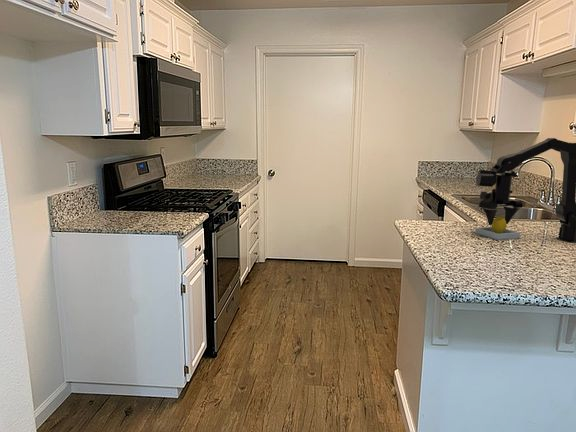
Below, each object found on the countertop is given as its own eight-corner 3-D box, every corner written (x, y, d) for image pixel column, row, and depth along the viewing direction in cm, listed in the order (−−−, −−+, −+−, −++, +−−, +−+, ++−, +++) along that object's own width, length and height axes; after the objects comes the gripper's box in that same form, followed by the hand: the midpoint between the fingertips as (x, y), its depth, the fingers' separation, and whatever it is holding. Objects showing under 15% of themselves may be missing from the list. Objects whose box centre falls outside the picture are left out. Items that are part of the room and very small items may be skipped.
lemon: (505, 237, 184) (509, 218, 183) (491, 235, 185) (495, 216, 184) (502, 234, 190) (505, 215, 188) (488, 232, 191) (491, 214, 189)
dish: (519, 238, 184) (519, 232, 184) (497, 240, 180) (498, 234, 179) (495, 232, 195) (496, 226, 195) (474, 233, 190) (475, 228, 190)
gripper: (503, 184, 194) (498, 219, 197) (470, 185, 187) (466, 221, 190) (525, 187, 184) (520, 224, 187) (492, 188, 177) (487, 227, 180)
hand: (498, 224), depth 186 cm, fingers open, 9 cm apart
